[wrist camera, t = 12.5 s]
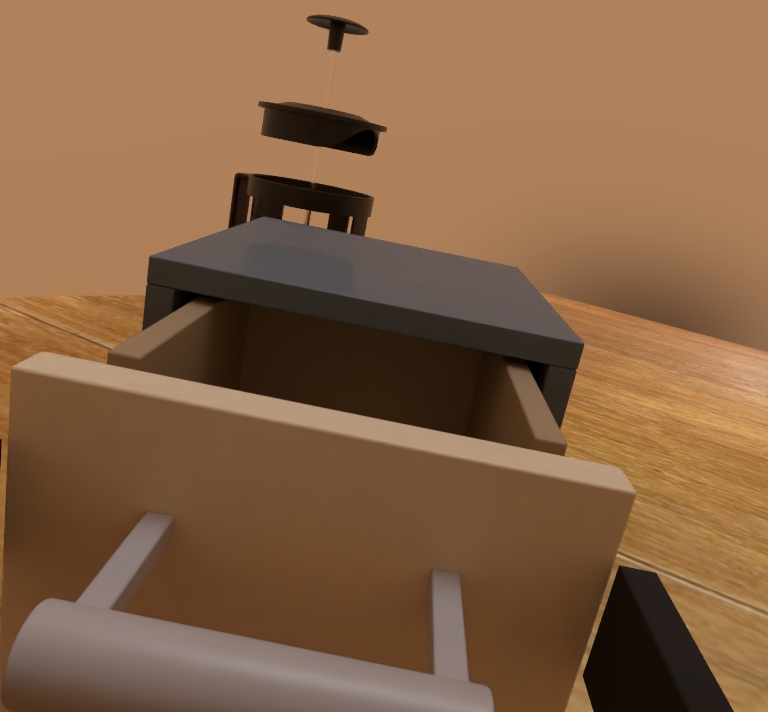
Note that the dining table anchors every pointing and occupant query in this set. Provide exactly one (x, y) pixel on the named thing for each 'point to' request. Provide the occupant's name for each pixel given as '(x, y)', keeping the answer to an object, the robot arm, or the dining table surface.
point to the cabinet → (373, 292)
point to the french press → (321, 132)
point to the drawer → (295, 525)
